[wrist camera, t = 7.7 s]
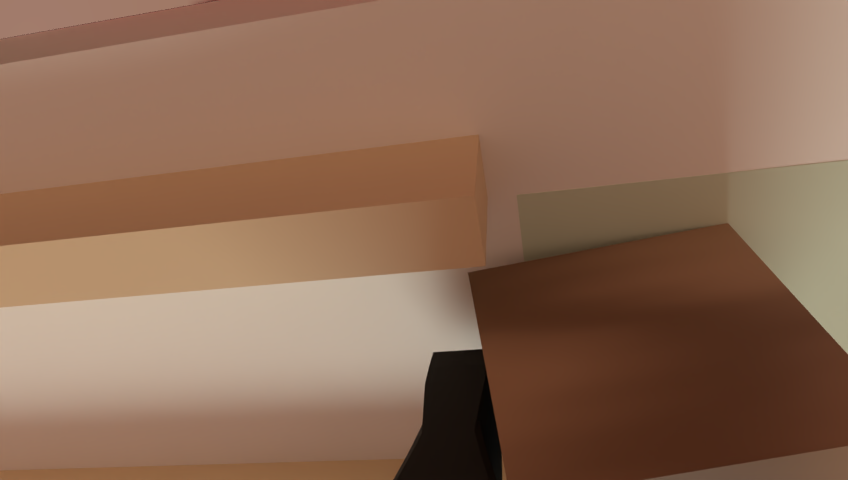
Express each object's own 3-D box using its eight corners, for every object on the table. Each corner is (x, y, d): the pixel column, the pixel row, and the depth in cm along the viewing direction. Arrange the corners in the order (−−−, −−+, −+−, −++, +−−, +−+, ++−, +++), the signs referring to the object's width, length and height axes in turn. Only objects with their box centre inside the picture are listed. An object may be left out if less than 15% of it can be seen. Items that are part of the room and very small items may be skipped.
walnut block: (501, 440, 13) (546, 679, 9) (467, 271, 11) (511, 502, 7) (713, 403, 13) (849, 634, 9) (727, 222, 10) (921, 434, 7)
